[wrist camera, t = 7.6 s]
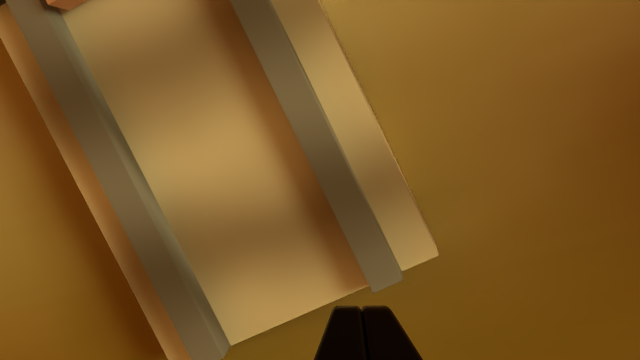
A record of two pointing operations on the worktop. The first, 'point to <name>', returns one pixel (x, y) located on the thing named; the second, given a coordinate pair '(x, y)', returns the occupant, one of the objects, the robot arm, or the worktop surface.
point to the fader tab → (65, 3)
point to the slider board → (220, 158)
